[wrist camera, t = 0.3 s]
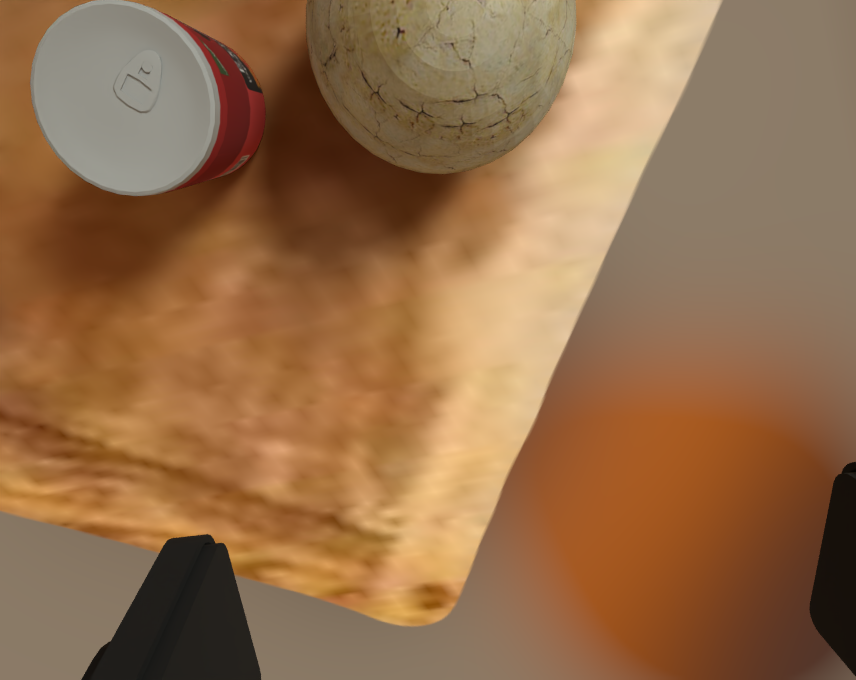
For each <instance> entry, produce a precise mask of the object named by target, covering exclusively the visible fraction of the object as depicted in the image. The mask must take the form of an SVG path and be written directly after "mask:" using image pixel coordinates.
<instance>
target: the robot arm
mask: <svg viewBox="0 0 856 680" xmlns="http://www.w3.org/2000/svg"><path fill="white" fill-rule="evenodd" d="M810 615H811V618H812V621H813V624H814V625H815V627H816V629H817V630H818V632H819V633H820V635H821V636H822V637H823V638H824V639H825V640H826V642H827V643H828V644H829V645H830V646H831V648H832V649H833V650H834V651H835V652H836V653H837V655H838V656H839V657H840V658H841V660H842V661H843V662H844V663H845V664H846V665H847V667H848V668H849V669H850V670H851V671H852V673H853V674H854V675H855V676H856V462H852V463H849V464H847V465H846V466H845V467H844V468H843V471H842V474H839V475H838V476H837V477H836V478H835V480H834V483H833V488H832V494H831V499H830V504H829V509H828V514H827V519H826V524H825V529H824V535H823V540H822V545H821V550H820V555H819V560H818V566H817V570H816V575H815V581H814V586H813V591H812V596H811V601H810ZM82 680H261V673H260V668H259V665H258V661H257V657H256V653H255V650H254V646H253V643H252V639H251V635H250V631H249V628H248V624H247V620H246V616H245V613H244V609H243V605H242V602H241V598H240V594H239V591H238V587H237V584H236V580H235V576H234V572H233V569H232V565H231V561H230V558H229V554H228V550H227V548H226V546H225V544H224V543H216V544H215V541H214V539H213V538H212V536H211V535H208V534H206V535H197V536H188V537H179V538H171V539H169V540H168V541H167V542H166V543H165V545H164V546H163V548H162V550H161V551H160V553H159V555H158V557H157V559H156V561H155V562H154V564H153V566H152V568H151V570H150V572H149V573H148V575H147V577H146V579H145V581H144V583H143V584H142V586H141V588H140V589H139V591H138V593H137V595H136V597H135V599H134V601H133V602H132V604H131V606H130V608H129V609H128V611H127V613H126V615H125V617H124V618H123V620H122V622H121V624H120V626H119V627H118V629H117V631H116V633H115V635H114V637H113V638H112V640H111V642H108V643H107V644H106V645H104V646H103V647H102V648H101V649H100V650H99V651H98V653H97V654H96V656H95V657H94V659H93V660H92V662H91V664H90V666H89V667H88V669H87V671H86V672H85V674H84V676H83V678H82Z"/></svg>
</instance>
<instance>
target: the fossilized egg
mask: <svg viewBox="0 0 856 680" xmlns="http://www.w3.org/2000/svg"><path fill="white" fill-rule="evenodd" d="M575 31H576V3H575V0H307V5H306V40H307V46H308V52H309V57H310V62H311V67H312V70H313V73H314V76H315V79H316V81H317V84H318V86H319V89H320V92H321V94H322V96H323V98H324V100H325V101H326V103H327V105H328V106H329V108H330V110H331V111H332V113H333V115H334V116H335V118H336V119H337V120H338V122H339V123H340V124H341V125H342V126H343V127H344V129H345V130H346V131H347V132H348V133H349V134H350V135H351V136H352V138H353V139H354V140H356V141H357V142H358V143H359V144H361V145H362V146H363V147H364V148H366V149H367V150H368V151H370V152H371V153H372V154H374V155H375V156H377V157H379V158H381V159H383V160H385V161H387V162H389V163H391V164H393V165H395V166H398V167H401V168H405V169H408V170H412V171H416V172H420V173H433V174H449V173H456V172H463V171H469V170H472V169H475V168H477V167H480V166H483V165H486V164H488V163H491V162H493V161H495V160H496V159H498V158H500V157H501V156H503V155H505V154H506V153H508V152H510V151H511V150H513V149H514V148H515V147H516V146H517V145H519V144H520V143H521V142H522V141H523V140H524V139H525V138H526V137H527V136H529V135H530V134H531V133H532V132H533V130H534V129H535V128H536V127H537V125H538V124H539V123H540V122H541V120H542V119H543V118H544V116H545V115H546V114H547V112H548V111H549V109H550V108H551V106H552V104H553V102H554V100H555V98H556V96H557V94H558V92H559V90H560V88H561V86H562V84H563V82H564V79H565V76H566V73H567V70H568V67H569V64H570V60H571V57H572V53H573V46H574V39H575Z"/></svg>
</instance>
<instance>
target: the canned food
mask: <svg viewBox="0 0 856 680" xmlns="http://www.w3.org/2000/svg"><path fill="white" fill-rule="evenodd" d="M30 85H31V96H32V104H33V108H34V111H35V115H36V119H37V122H38V124H39V126H40V128H41V130H42V133H43V135H44V137H45V139H46V141H47V142H48V144H49V145H50V146H51V148H52V149H53V151H54V152H55V154H56V155H57V156H58V157H59V158H60V159H61V160H62V162H63V163H64V164H65V165H66V166H67V167H68V168H69V169H70V170H71V171H73V172H74V173H76V174H77V175H78V176H80V177H81V178H82V179H84V180H85V181H87V182H89V183H91V184H93V185H95V186H97V187H99V188H101V189H103V190H106V191H110V192H113V193H116V194H121V195H131V196H147V195H157V194H161V193H166V192H170V191H174V190H177V189H180V188H184V187H187V186H191V185H194V184H197V183H201V182H204V181H208V180H211V179H214V178H218V177H221V176H224V175H227V174H230V173H232V172H233V171H235V170H237V169H239V168H240V167H241V166H243V165H244V164H245V163H246V162H247V161H248V160H249V159H250V158H251V156H252V155H253V154H254V152H255V151H256V149H257V147H258V145H259V143H260V141H261V139H262V135H263V131H264V127H265V115H266V110H265V102H264V96H263V93H262V90H261V87H260V84H259V82H258V80H257V78H256V76H255V74H254V72H253V70H252V69H251V68H250V67H249V65H248V64H247V63H246V62H245V60H244V59H243V58H242V57H241V56H239V55H238V54H237V53H236V52H235V51H234V50H233V49H231V48H229V47H228V46H226V45H224V44H222V43H221V42H219V41H217V40H215V39H213V38H211V37H209V36H207V35H205V34H203V33H201V32H200V31H198V30H196V29H194V28H192V27H190V26H188V25H186V24H184V23H182V22H180V21H178V20H176V19H174V18H173V17H171V16H169V15H167V14H165V13H162V12H160V11H158V10H156V9H153V8H150V7H147V6H144V5H141V4H139V3H135V2H130V1H122V0H96V1H91V2H88V3H85V4H82V5H79V6H76V7H74V8H72V9H71V10H69V11H68V12H66V13H65V14H63V15H61V16H60V17H59V18H58V19H57V20H56V21H55V22H54V23H53V24H52V25H51V26H50V27H49V28H48V29H47V31H46V33H45V35H44V36H43V38H42V40H41V41H40V43H39V45H38V47H37V50H36V54H35V57H34V60H33V63H32V71H31V81H30Z"/></svg>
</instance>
